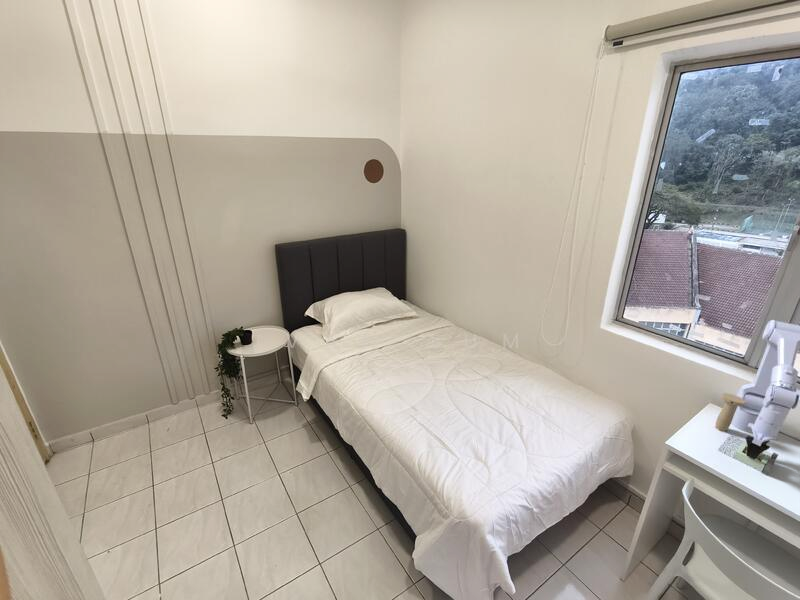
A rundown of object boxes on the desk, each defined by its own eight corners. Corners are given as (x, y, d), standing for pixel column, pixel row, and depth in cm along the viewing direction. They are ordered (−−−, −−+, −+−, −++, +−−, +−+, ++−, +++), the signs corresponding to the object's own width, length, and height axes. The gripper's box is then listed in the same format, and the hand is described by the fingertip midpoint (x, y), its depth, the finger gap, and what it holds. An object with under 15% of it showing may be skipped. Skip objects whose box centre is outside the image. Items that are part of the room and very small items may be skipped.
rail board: (729, 436, 136) (734, 425, 134) (776, 458, 126) (782, 447, 125) (716, 452, 129) (721, 441, 127) (765, 477, 119) (771, 466, 117)
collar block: (740, 447, 130) (742, 442, 129) (767, 461, 124) (770, 455, 123) (733, 456, 126) (735, 451, 125) (761, 471, 120) (764, 465, 119)
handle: (729, 438, 135) (744, 405, 129) (707, 429, 139) (721, 396, 134) (731, 432, 138) (746, 399, 132) (710, 423, 143) (723, 391, 137)
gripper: (760, 405, 125) (745, 436, 131) (747, 421, 118) (731, 453, 123) (788, 416, 120) (771, 448, 125) (777, 434, 112) (759, 467, 117)
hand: (753, 452), depth 124 cm, fingers open, 7 cm apart
